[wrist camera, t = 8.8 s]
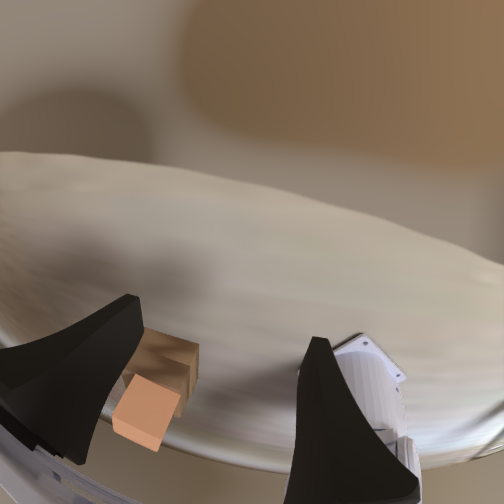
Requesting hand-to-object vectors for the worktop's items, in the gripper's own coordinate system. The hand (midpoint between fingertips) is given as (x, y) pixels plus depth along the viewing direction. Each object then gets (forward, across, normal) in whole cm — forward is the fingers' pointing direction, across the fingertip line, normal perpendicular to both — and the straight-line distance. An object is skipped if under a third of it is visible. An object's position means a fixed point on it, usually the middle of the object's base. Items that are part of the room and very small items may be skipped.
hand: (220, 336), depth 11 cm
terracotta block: (+5, +7, +16) cm, 18 cm away
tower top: (+8, +7, +16) cm, 19 cm away
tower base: (+11, +7, +16) cm, 20 cm away
